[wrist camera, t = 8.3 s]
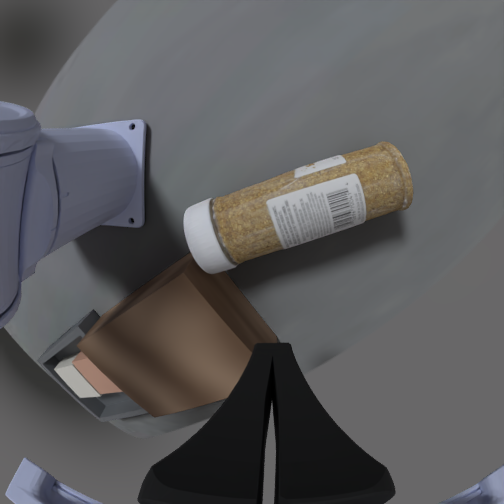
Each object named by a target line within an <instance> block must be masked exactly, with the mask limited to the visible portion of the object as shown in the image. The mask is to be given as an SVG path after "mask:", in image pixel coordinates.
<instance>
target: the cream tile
mask: <svg viewBox="0 0 504 504" xmlns="http://www.w3.org/2000/svg"><path fill="white" fill-rule="evenodd" d="M78 354H79V353H76V354H73V355H69V356H66V357H63V359H62V360H61V361H60V362H59V364H58V365H57V366H56V367H55V369H54V370H55V371H56V372H57V373H58V375H59V376H60V377H61V378H62V379H63V380H64V381H65V382H66V384H67V385H68V386H69V387H70V388H71V389H72V390H73V391H74V392H75V393H76V394H77V395H78V396H79V397H80V398H85V397H99V396H102V394H100V393H99V392H98V391H97V390H96V389H95V388H94V387H93V386H92V385H91V384H90V382H89V381H88V380H87V379H86V378H85V377H84V376H83V375H82V374H81V372H80V371H79V370H78V369H77V368H76V367H75V366H74V364H73V363H72V361H73V360H74V359H75V357H76V356H77V355H78Z"/></svg>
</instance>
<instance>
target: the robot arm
mask: <svg viewBox="0 0 504 504" xmlns="http://www.w3.org/2000/svg"><path fill="white" fill-rule="evenodd" d="M133 124H135V129H134V130H132V125H133ZM145 142H146V122H145V121H144V120H128V121H118V122H110V123H102V124H95V125H88V126H82V127H77V128H49V129H41V125H40V123H39V122H38V121H37V120H36V117H35V115H34V113H33V112H32V111H31V110H30V109H27V108H26V107H23V106H20V105H16V104H13V103H8V102H2V101H0V329H1V328H2V327H3V326H5V325H6V324H7V323H8V322H9V321H10V320H11V319H12V317H13V316H14V315H15V313H16V311H17V309H18V307H19V304H20V300H21V282H22V281H24V280H25V279H27V278H28V277H29V276H31V275H32V274H34V273H35V267H36V264H37V262H38V261H39V260H41V259H42V258H44V257H45V256H47V255H49V254H50V253H52V252H54V251H55V250H57V249H58V248H60V247H62V246H64V245H65V244H67V243H69V242H70V241H72V240H74V239H76V238H77V237H79V236H81V235H83V234H84V233H86V232H88V231H90V230H92V229H93V228H95V227H97V226H99V225H108V226H121V227H133V228H140V227H141V226H143V225H144V223H145V209H144V169H145ZM131 218H133V219H134V223H132V222H131ZM271 403H273V416H274V427H275V439H276V473H275V497H274V504H384V503H386V502H387V501H388V500H390V499H391V498H392V497H393V496H394V495H395V486H394V483H393V480H392V478H391V476H390V473H389V471H388V469H387V468H386V467H385V466H384V465H382V464H381V463H379V462H378V461H376V460H375V459H374V458H373V457H371V456H370V455H369V454H367V453H366V452H365V451H364V450H363V449H362V448H360V447H359V446H358V445H357V444H356V443H355V442H354V441H353V440H351V438H350V437H349V436H348V435H347V434H346V433H345V432H344V431H343V430H341V428H340V427H339V426H338V425H337V424H336V423H335V422H334V421H333V419H332V418H331V417H330V416H329V414H328V413H327V412H326V410H325V409H324V408H323V407H322V405H321V404H320V402H319V401H318V400H317V398H316V396H315V395H314V393H313V392H312V390H311V389H310V387H309V385H308V383H307V381H306V380H305V378H304V376H303V374H302V372H301V370H300V368H299V366H298V364H297V361H296V359H295V356H294V354H293V351H292V347H291V344H289V343H256V344H255V345H254V349H253V352H252V355H251V357H250V359H249V362H248V364H247V366H246V368H245V370H244V372H243V373H242V375H241V377H240V379H239V381H238V382H237V384H236V385H235V387H234V388H233V390H232V391H231V393H230V395H229V396H228V397H227V399H226V400H225V402H224V403H223V404H222V405H221V407H220V408H219V409H218V410H217V412H216V413H215V414H214V415H213V416H212V417H211V418H210V420H209V421H208V422H207V423H206V424H205V425H204V426H203V427H202V428H201V429H200V430H199V431H198V432H197V433H196V434H195V435H193V436H192V437H191V438H190V439H189V440H188V441H186V442H185V443H184V444H183V445H182V446H180V447H179V448H178V449H177V450H175V451H174V452H172V453H171V454H169V455H168V456H166V457H165V458H164V459H162V460H161V461H159V462H157V463H156V464H154V465H153V466H152V467H151V468H150V470H149V472H148V473H147V475H146V477H145V479H144V481H143V483H142V486H141V489H140V493H139V496H138V502H139V503H140V504H262V501H263V482H264V481H263V480H264V462H265V460H264V459H265V447H266V446H265V445H266V438H267V431H268V424H269V418H270V410H271ZM6 496H7V497H8V498H9V499H10V500H12V501H13V502H14V503H15V504H103V503H101V502H99V501H96V500H94V499H92V498H90V497H88V496H86V495H84V494H82V493H80V492H78V491H76V490H74V489H72V488H70V487H68V486H66V485H65V484H63V483H61V482H59V481H58V480H56V479H55V478H54V477H53V476H51V475H50V474H49V473H48V472H46V471H45V470H43V469H42V468H41V467H39V466H37V465H36V464H35V463H33V462H32V461H30V460H29V459H27V458H24V459H23V461H22V463H21V464H20V466H19V468H18V470H17V472H16V474H15V476H14V478H13V480H12V482H11V483H10V485H9V487H8V489H7V491H6ZM438 504H504V465H502V466H501V467H499V468H498V469H496V470H495V471H493V472H492V473H490V474H489V475H487V476H486V477H485V478H483V479H482V480H481V481H480V482H479V483H477V484H476V485H474V486H472V487H471V488H468V489H467V490H465V491H463V492H461V493H459V494H457V495H455V496H453V497H451V498H449V499H447V500H445V501H442V502H440V503H438Z"/></svg>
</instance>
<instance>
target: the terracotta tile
mask: <svg viewBox="0 0 504 504" xmlns="http://www.w3.org/2000/svg"><path fill="white" fill-rule="evenodd" d="M72 363H73V364H74V366H75V367H76V368H77V369H78V370H79V371H80V372H81V374H82V375H83V376H84V377H85V378H86V379H87V380H88V381H89V382H90V384H91V385H92V386H93V387H94V388H95V389H96V390H97V391H98V392H99V393H100V394H106V393H115V392H123V391H122V390H120V389H119V388H118V387H117V386H116V385H115V384H114V383H113V382H112V381H111V380H110V379H108V378H107V377H106V376H105V375H104V374H103V373H102V372H101V371H100V370H99V369H98V368H97V367H96V366H95V365H94V364H93V363H92V362H91V361H90V360H89V359H88V358H87V357H86V356H85V354H84V353H83V352H82V351H80V352H79V354H78V355H77V356H76V357H75V359H74V360H73V361H72Z"/></svg>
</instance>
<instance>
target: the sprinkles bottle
mask: <svg viewBox="0 0 504 504" xmlns="http://www.w3.org/2000/svg"><path fill="white" fill-rule="evenodd" d="M412 199H413V186H412V179H411V174H410V171H409V168H408V165H407V163H406V161H405V160H404V158H403V156H402V154H401V153H400V151H398V149H397V148H396V147H395V146H394V145H392V144H390V143H389V142H379V143H378V144H376V145H375V146H372V147H368V148H365V149H362V150H358V151H354V152H351V153H347V154H344V155H337V156H334V157H331V158H328V159H324V160H321V161H318V162H315V163H312V164H309V165H306V166H303V167H300V168H297V169H295V170H292V171H289V172H286V173H284V174H281V175H279V176H276V177H274V178H271V179H269V180H266V181H263V182H261V183H258V184H254V185H252V186H249V187H247V188H244V189H242V190H239V191H236V192H234V193H231V194H229V195H225V196H224V197H216V198H215V199H214V198H209V199H207V200H204V201H202V202H199V203H197V204H195V205H193V206H191V207H189V208H188V209H187V210H186V212H185V214H184V221H183V223H184V232H185V237H186V241H187V244H188V247H189V249H190V252H191V254H192V256H193V257H194V259H195V261H196V262H197V264H198V265H199V266H200V267H201V268H202V270H204V271H205V272H207V273H209V274H215V273H219V272H222V271H226V270H229V269H232V268H235V267H236V266H237V265H238V264H240V263H243V262H244V261H246V260H250V259H254V258H256V257H260V256H262V255H266V254H268V253H272V252H275V251H278V250H281V249H287V248H290V247H294V246H297V245H300V244H303V243H306V242H309V241H312V240H315V239H318V238H321V237H324V236H327V235H330V234H333V233H336V232H339V231H341V230H344V229H347V228H350V227H353V226H356V225H359V224H362V223H364V222H365V221H367V220H370V219H373V218H376V217H379V216H381V215H385V214H388V213H390V212H393V211H396V210H405V209H407V208H409V206H410V205H411V203H412Z"/></svg>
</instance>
